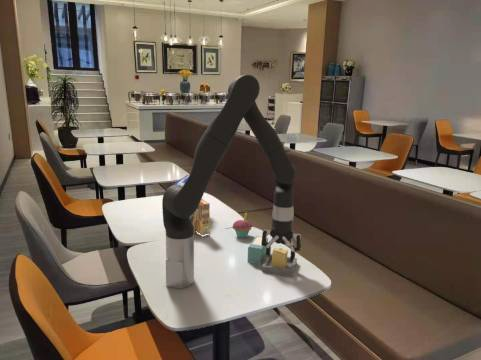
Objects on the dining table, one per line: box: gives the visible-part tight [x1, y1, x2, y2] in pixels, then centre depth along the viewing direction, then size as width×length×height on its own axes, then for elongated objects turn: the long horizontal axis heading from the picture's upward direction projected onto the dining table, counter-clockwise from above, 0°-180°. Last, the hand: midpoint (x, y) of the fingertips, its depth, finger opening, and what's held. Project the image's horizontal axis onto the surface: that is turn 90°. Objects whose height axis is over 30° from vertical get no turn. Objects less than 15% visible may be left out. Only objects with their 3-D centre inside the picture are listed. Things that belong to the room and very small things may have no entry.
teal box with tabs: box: [247, 235, 269, 265], centre depth 148 cm, size 12×5×6 cm, turn 163°
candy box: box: [192, 198, 211, 235], centre depth 168 cm, size 9×4×15 cm, turn 33°
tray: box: [261, 253, 298, 277], centre depth 140 cm, size 11×11×2 cm
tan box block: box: [271, 247, 289, 269], centre depth 139 cm, size 4×5×6 cm
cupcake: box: [232, 211, 253, 238], centre depth 167 cm, size 9×8×12 cm
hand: (280, 258), depth 139 cm, fingers open, 8 cm apart
